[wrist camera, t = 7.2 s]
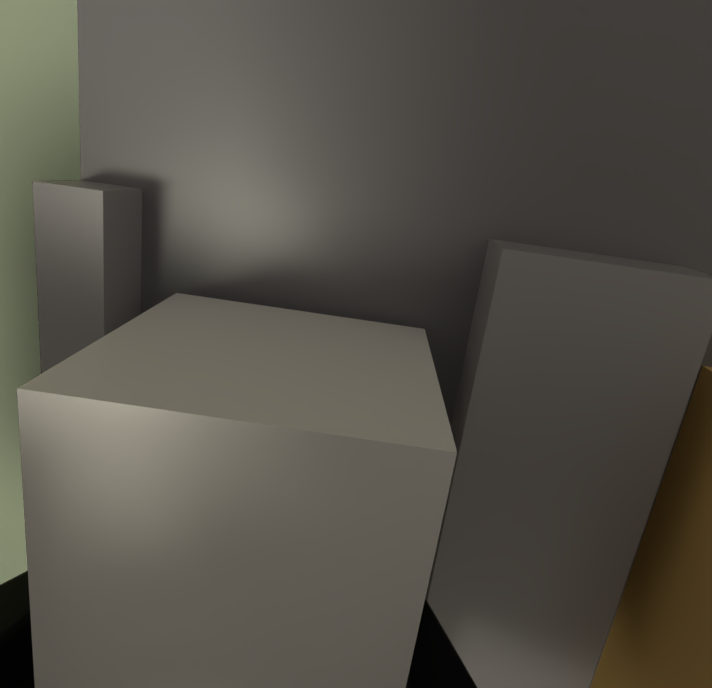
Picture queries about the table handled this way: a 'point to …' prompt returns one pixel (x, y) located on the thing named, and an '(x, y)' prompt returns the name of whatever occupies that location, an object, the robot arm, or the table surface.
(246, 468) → the grey plug
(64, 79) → the table surface
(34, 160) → the table surface
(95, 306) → the organiser
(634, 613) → the amber plug
